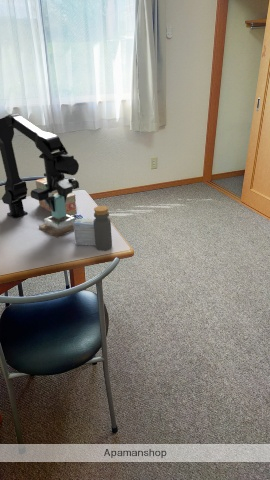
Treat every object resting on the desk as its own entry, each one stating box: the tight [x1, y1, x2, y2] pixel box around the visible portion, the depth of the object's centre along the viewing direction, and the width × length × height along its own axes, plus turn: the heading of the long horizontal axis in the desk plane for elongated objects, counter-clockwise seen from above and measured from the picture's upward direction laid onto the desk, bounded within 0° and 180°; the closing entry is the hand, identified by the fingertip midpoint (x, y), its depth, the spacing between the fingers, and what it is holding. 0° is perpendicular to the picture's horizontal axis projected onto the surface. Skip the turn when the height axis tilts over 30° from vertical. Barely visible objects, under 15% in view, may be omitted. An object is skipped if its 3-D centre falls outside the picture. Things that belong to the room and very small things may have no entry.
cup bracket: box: [43, 214, 76, 232], centre depth 141 cm, size 8×8×3 cm
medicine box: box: [73, 218, 96, 246], centre depth 128 cm, size 8×4×9 cm, turn 83°
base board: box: [38, 220, 74, 238], centre depth 141 cm, size 12×12×1 cm
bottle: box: [93, 205, 113, 252], centre depth 123 cm, size 6×6×15 cm
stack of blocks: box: [35, 177, 77, 216], centre depth 155 cm, size 21×6×12 cm, turn 43°
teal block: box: [50, 194, 66, 219], centre depth 137 cm, size 4×4×8 cm
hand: (58, 209), depth 138 cm, fingers closed on teal block, 4 cm apart
